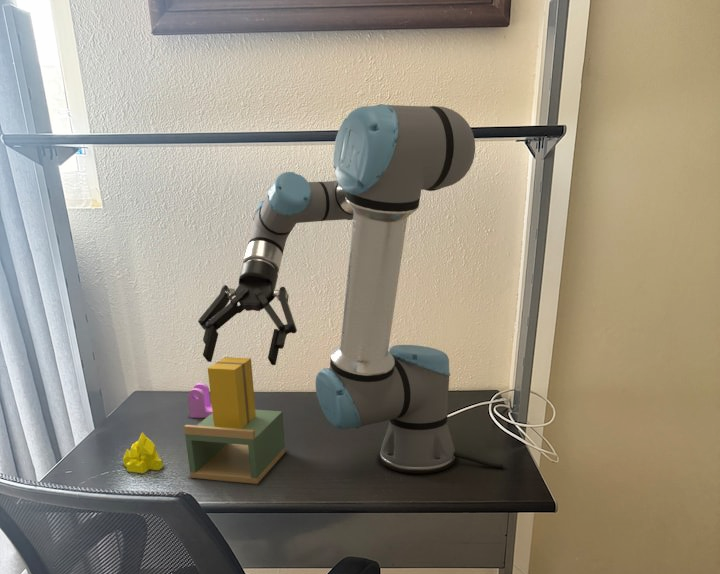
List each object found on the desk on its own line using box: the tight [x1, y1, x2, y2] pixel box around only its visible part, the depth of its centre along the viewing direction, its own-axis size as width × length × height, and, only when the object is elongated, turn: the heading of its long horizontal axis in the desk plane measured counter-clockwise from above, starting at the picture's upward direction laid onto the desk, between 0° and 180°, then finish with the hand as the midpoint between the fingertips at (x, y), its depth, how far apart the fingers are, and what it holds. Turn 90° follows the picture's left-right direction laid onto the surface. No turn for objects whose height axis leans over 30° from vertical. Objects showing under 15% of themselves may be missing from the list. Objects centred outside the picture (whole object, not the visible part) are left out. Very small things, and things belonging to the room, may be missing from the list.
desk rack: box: [183, 409, 286, 485], centre depth 141 cm, size 14×16×11 cm
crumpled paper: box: [122, 431, 164, 474], centre depth 141 cm, size 6×8×8 cm
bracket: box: [187, 382, 213, 419], centre depth 170 cm, size 13×6×7 cm, turn 87°
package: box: [207, 356, 256, 429], centre depth 137 cm, size 6×8×12 cm
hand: (238, 360), depth 138 cm, fingers open, 13 cm apart
